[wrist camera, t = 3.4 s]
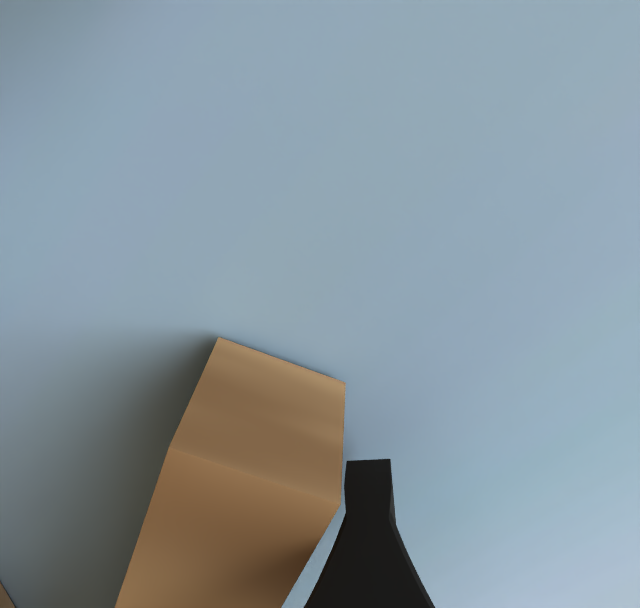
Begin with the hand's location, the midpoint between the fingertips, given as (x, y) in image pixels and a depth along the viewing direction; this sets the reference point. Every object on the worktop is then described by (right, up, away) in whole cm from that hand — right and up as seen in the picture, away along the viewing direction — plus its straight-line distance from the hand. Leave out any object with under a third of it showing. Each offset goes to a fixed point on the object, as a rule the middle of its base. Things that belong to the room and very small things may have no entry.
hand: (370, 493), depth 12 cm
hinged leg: (-5, -4, +4) cm, 7 cm away
